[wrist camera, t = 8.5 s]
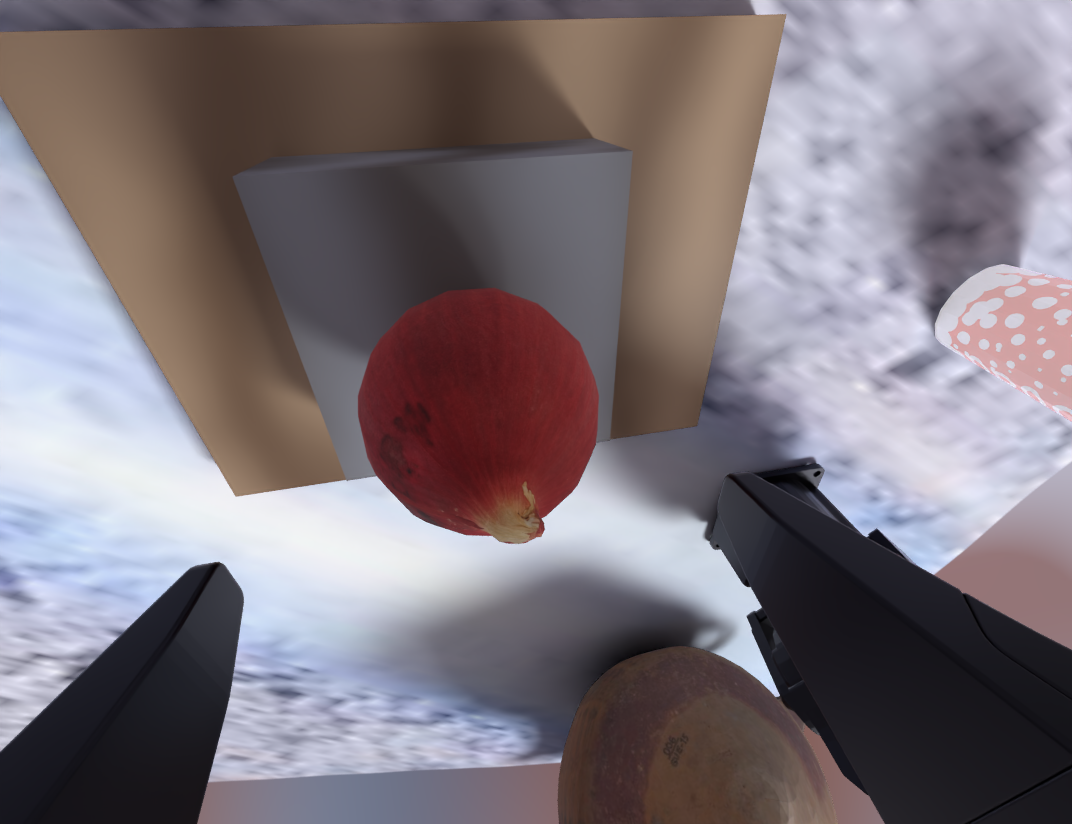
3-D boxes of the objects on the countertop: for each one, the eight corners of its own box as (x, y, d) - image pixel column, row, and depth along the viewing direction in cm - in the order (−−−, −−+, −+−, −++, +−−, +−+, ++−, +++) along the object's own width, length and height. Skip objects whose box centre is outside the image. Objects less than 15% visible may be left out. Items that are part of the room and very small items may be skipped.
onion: (436, 444, 17) (442, 668, 10) (332, 308, 13) (241, 514, 7) (583, 373, 16) (689, 561, 10) (514, 214, 13) (605, 339, 6)
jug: (606, 587, 33) (504, 708, 53) (636, 1048, 19) (479, 979, 38) (847, 636, 36) (667, 733, 56) (1034, 1063, 22) (701, 993, 41)
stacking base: (758, 19, 15) (875, -2, 11) (683, 409, 25) (733, 472, 21) (7, 37, 12) (-191, 16, 8) (246, 473, 22) (206, 562, 18)
